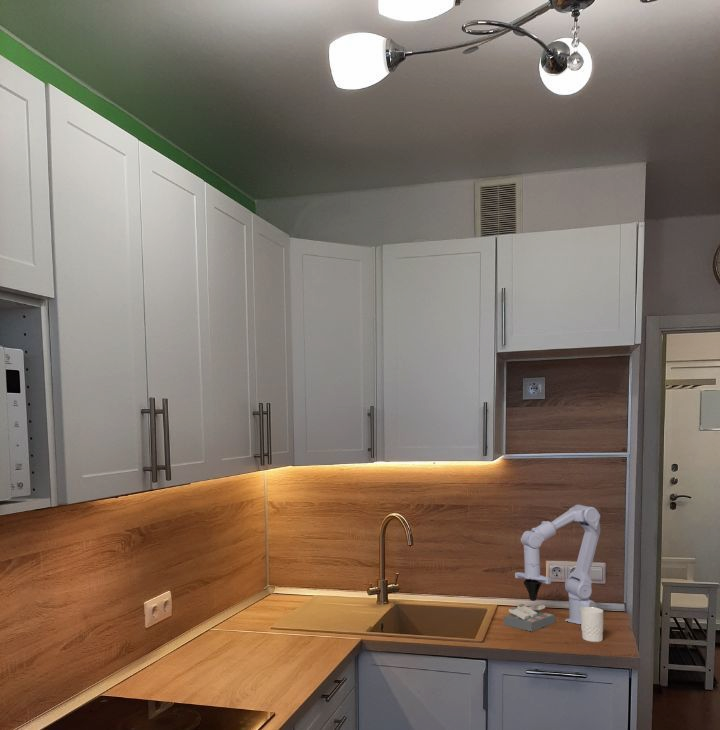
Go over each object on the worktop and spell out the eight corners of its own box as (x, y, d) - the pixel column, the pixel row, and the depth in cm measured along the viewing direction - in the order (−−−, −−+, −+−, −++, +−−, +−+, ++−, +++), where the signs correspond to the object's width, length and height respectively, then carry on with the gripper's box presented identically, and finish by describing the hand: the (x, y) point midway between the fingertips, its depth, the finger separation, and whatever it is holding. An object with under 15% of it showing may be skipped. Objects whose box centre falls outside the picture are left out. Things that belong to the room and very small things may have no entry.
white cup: (576, 639, 230) (575, 609, 231) (587, 634, 235) (586, 605, 236) (598, 644, 224) (596, 614, 225) (608, 639, 229) (607, 609, 230)
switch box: (555, 623, 248) (554, 613, 249) (531, 632, 237) (531, 621, 238) (528, 616, 257) (527, 606, 257) (504, 624, 246) (503, 614, 247)
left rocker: (529, 618, 243) (530, 614, 243) (523, 620, 241) (524, 616, 241) (513, 609, 249) (514, 606, 249) (508, 611, 246) (508, 608, 246)
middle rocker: (537, 615, 247) (538, 612, 247) (531, 617, 245) (532, 614, 244) (522, 606, 252) (523, 603, 252) (516, 608, 250) (517, 605, 250)
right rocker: (545, 607, 251) (544, 604, 251) (540, 609, 248) (539, 605, 249) (530, 609, 256) (529, 605, 256) (525, 611, 253) (524, 607, 254)
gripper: (510, 562, 251) (511, 598, 250) (543, 567, 240) (544, 605, 239) (520, 559, 256) (521, 595, 254) (553, 565, 245) (554, 602, 244)
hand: (533, 600), depth 247 cm, fingers closed
